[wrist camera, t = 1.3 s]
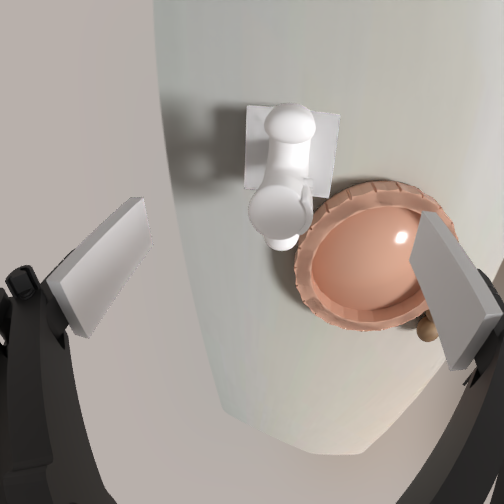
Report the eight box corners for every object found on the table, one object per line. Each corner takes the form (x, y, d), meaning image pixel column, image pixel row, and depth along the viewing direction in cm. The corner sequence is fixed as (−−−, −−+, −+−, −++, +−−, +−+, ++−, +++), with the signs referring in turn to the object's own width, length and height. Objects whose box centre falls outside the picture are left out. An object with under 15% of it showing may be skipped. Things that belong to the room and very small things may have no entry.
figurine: (250, 185, 29) (208, 286, 16) (254, 89, 23) (201, 108, 11) (324, 193, 28) (338, 301, 16) (336, 97, 22) (379, 126, 10)
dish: (298, 170, 27) (298, 180, 25) (468, 190, 24) (480, 201, 22) (290, 311, 37) (289, 328, 35) (422, 316, 35) (427, 331, 32)
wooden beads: (427, 289, 32) (435, 309, 29) (467, 290, 31) (477, 308, 28) (410, 327, 36) (415, 347, 33) (448, 327, 35) (455, 345, 32)
